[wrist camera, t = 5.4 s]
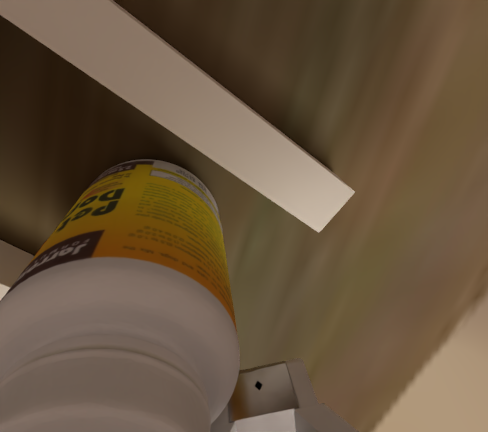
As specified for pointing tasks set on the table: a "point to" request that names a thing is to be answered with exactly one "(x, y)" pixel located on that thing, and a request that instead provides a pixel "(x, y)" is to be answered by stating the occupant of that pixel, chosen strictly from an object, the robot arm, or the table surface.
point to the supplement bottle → (123, 312)
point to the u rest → (175, 107)
